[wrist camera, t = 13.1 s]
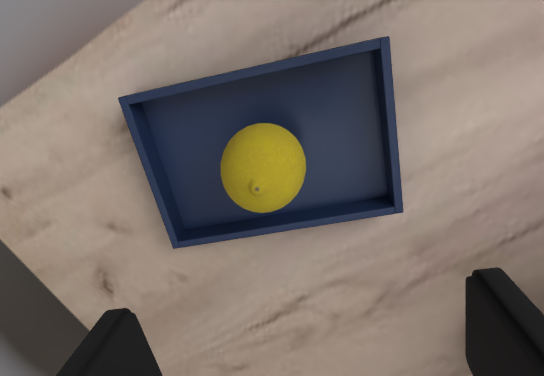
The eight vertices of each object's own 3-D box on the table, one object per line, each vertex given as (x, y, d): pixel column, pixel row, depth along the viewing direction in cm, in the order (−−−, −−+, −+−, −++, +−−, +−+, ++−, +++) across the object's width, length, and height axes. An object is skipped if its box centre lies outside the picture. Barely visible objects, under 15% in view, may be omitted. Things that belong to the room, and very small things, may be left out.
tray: (379, 37, 23) (389, 35, 20) (393, 198, 27) (403, 212, 25) (134, 93, 25) (117, 97, 23) (182, 233, 30) (173, 249, 27)
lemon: (277, 98, 24) (271, 119, 17) (317, 160, 26) (327, 203, 18) (217, 140, 26) (187, 175, 18) (258, 196, 27) (246, 249, 20)
